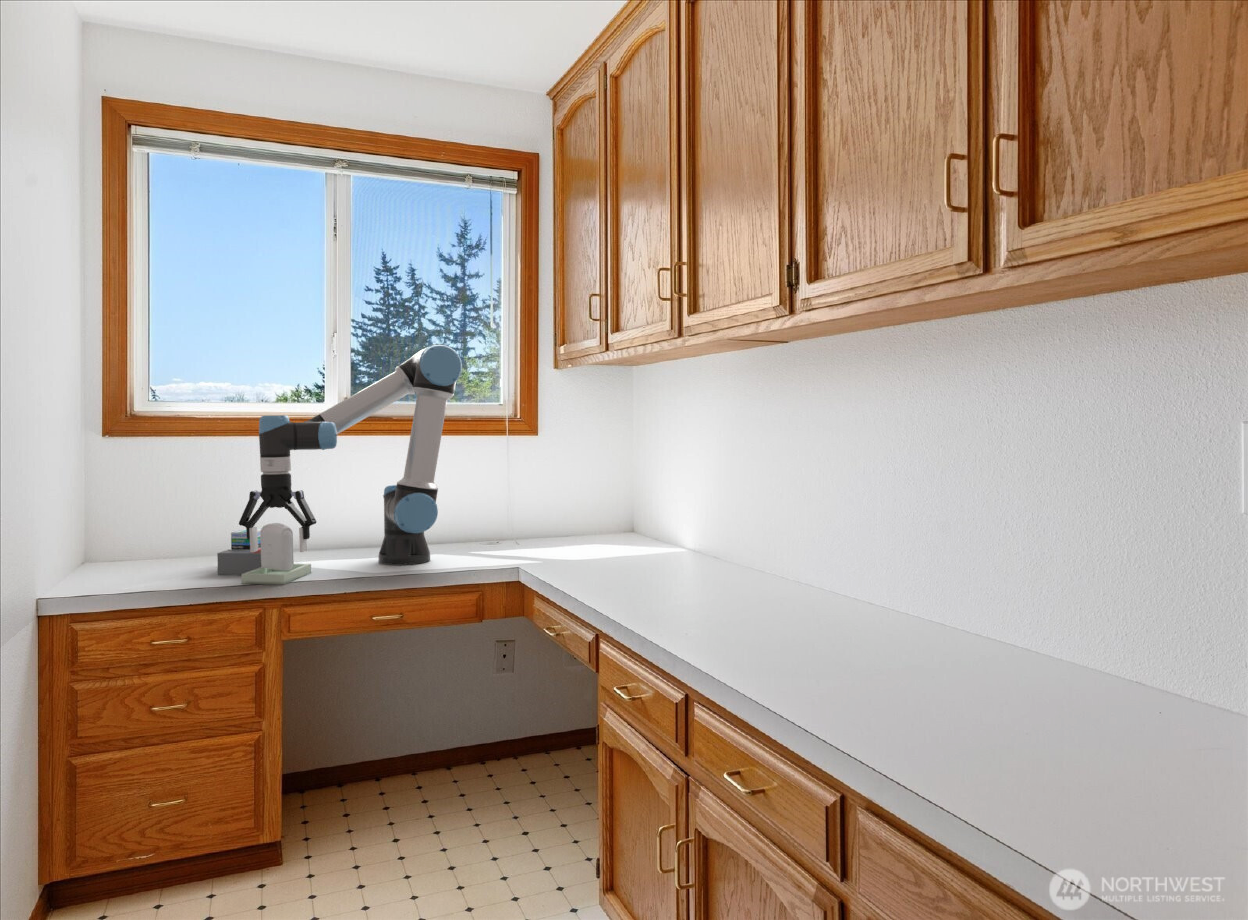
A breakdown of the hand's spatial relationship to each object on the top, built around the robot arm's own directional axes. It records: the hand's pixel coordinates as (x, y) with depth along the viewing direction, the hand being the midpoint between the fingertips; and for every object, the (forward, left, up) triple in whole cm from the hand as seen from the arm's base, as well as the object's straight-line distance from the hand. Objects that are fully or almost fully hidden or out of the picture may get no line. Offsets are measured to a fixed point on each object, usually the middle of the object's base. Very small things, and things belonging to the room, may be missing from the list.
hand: (278, 551), depth 226 cm
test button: (+8, -6, -5) cm, 12 cm away
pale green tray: (0, 0, -7) cm, 7 cm away
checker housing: (+12, -6, -7) cm, 15 cm away
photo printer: (0, 0, -5) cm, 5 cm away
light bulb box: (+16, -16, -7) cm, 24 cm away
